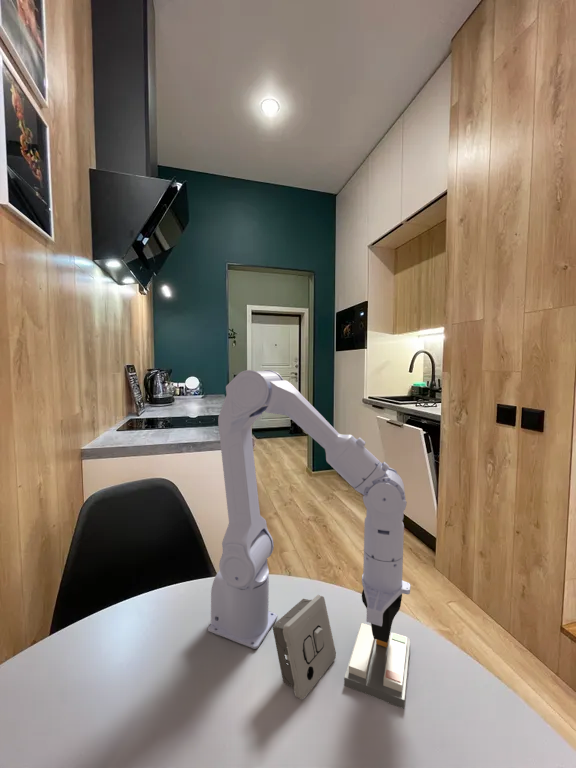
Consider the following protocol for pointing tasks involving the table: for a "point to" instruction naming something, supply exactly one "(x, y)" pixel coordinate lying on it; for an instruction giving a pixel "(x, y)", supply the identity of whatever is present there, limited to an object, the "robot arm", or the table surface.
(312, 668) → the electrical switch
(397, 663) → the breaker base
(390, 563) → the robot arm
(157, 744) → the table surface
